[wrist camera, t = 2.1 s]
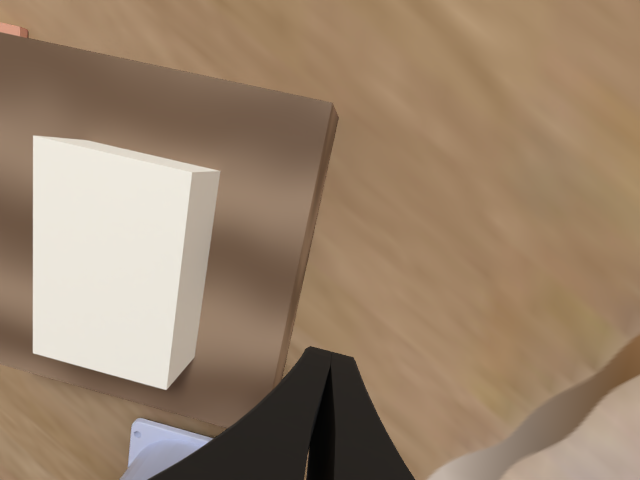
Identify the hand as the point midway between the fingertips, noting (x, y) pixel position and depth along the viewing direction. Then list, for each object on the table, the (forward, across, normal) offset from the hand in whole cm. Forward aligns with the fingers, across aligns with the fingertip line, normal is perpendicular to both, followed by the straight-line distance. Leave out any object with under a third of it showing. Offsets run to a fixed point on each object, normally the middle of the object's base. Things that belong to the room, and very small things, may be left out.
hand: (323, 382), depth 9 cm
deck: (+9, +10, 0) cm, 14 cm away
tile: (+5, +9, 0) cm, 10 cm away
